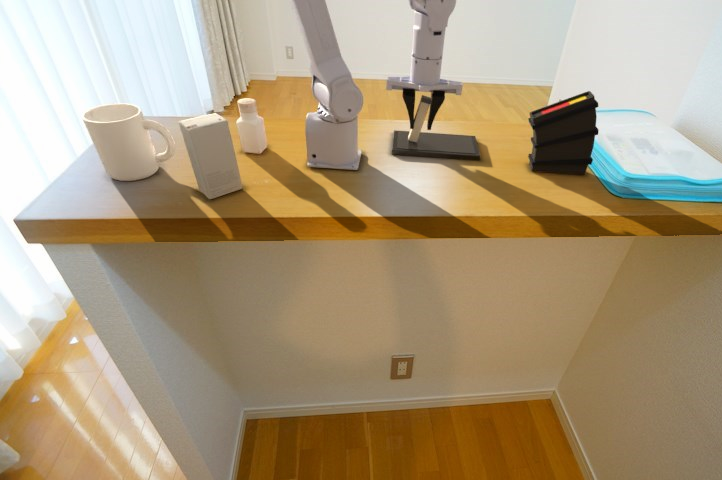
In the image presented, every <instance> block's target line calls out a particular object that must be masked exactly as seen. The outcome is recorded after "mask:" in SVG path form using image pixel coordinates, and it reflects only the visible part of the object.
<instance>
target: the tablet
mask: <svg viewBox="0 0 722 480" xmlns="http://www.w3.org/2000/svg"><path fill="white" fill-rule="evenodd" d="M409 133H410V130H409V131H407V130H396V129H395V130H393V134H392V135H393V136H392V143H391V144H392V146H391V155H393V156H394V155H395V156H409V157H421V158H422V157H423V158H424V157H425V158H439V159H454V160H467V161H468V160H469V161H481V153H480V149H479V145H478V141H477V138H476V135H468V134H467V135H465V134H453V133H437V132H423V131H420V134H419V137H418V140H417V142H413V141H409V140H408V136H409Z"/></svg>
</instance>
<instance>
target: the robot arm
mask: <svg viewBox="0 0 722 480" xmlns="http://www.w3.org/2000/svg"><path fill="white" fill-rule="evenodd" d="M289 3H290V5H291V9H292V11H293V14H294V17H295V20H296V23H297V26H298V29H299V32H300V34H301V37H302V40H303V43H304V46H305V49H306V52H307V55H308V57H309V60H310V62H309V63H310V64H309V68H308V69H309V72H310V76H311V93H312V95H313V97H314V99H315V100H316V102H318V106H317V110H316V111H314V112H312V111H311V112H307V114H306V117H305V124H304V125H305V128H304V131H305V132H304V133H305V134H304V135H305V143H306V145H305V146H306V155H307V164H306V165H307V167H308V168H318V169H332V170H333V169H334V170H348V171H357V170H359V166H360V163H361V162H360V161H361V157H362V154H363V151H362V149H359V130H358V129H359V123H358V121H359V120H358V116H359V114H360V113H361V112H362V109H363V107H364V94H363V92H362V90H361V89H360V87H359V86H358V85H357V84H356V83H355V81H354V79H353V75H352V72H351V71H350V69H349V67H348V66H347V64H346V62H345V60H344V58H343V56H342V53H341V49H340V47H339V43H338V39H337V36H336V33H335V29H334V25H333V22H332V20H331V16H330V15H331V14H330V12H329V8H328V5H327V1H326V0H289ZM408 4H409V7H410V9H412V10H414V13H413V30H412V44H411V57H410V69H409V70H410V72H409V76H386V88H385V90H386V91H393V90H395V91H402V99H403V102H404V104H405V107H406V110H407V114H408V119H409V129H410V130H411V129H414V118H415V105H416V92H425V93H430V98H431V103H430V106H429V110H428V116H427V123H426V124H427V125H426V127H427V129H426V130H427V131H431V130H432V126H433V124H434V120H435V117H436V116H437V114H438V112H439V110H440V108H441V107H442V105H443V104H444V102H445V99H446V94H453V95H454V94H455V96H462V92H463V81H457V80H450V79H445V78H441V72H442V64H443V63H442V62H443V56H444V55H443V54H444V48H445V47H444V46H445V36H446V29H447V28H448V23H449V18H450V16H451V15H452V14H453V12H454V9H455V7H456V4H457V0H408Z"/></svg>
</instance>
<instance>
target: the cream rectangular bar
mask: <svg viewBox="0 0 722 480" xmlns="http://www.w3.org/2000/svg"><path fill="white" fill-rule="evenodd" d="M430 103H431V96H427V95H423V94H422V95H421V97H420V100H419V103H418V106H417V109H416V112H415V114H414V129H410V130H409V131H410V133H409V136H408V140H409V141H413V142H417V140H418V137H419V134H420V132H422V128H423V125H424V123H425V119H426V117H427V114H428V112H429V109H430Z"/></svg>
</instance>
